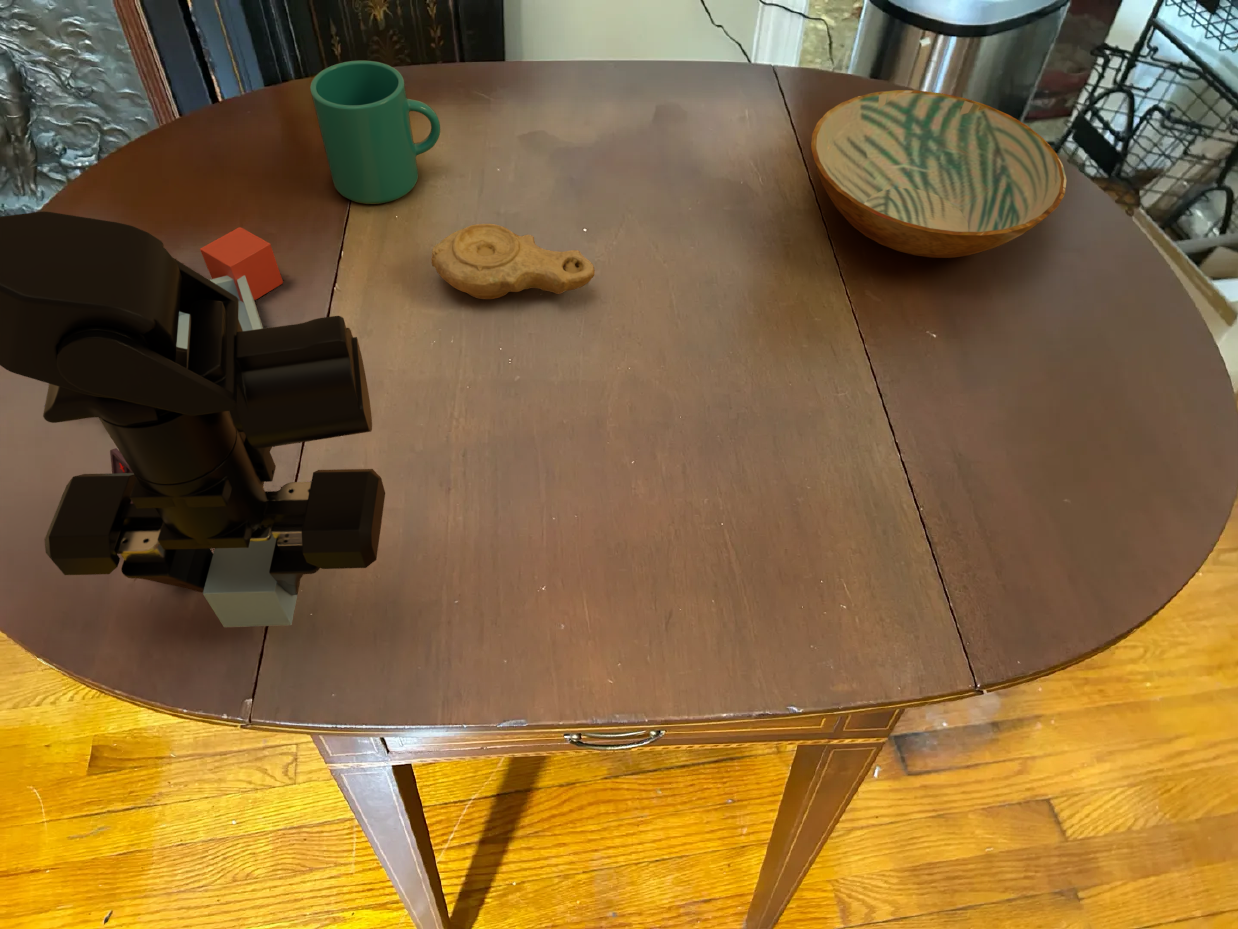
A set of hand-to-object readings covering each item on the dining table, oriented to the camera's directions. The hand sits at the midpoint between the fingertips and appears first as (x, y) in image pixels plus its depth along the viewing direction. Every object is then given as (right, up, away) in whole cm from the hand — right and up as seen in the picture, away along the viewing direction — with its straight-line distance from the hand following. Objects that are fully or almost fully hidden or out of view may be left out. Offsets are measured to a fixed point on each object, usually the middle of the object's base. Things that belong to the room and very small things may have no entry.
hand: (260, 589), depth 62 cm
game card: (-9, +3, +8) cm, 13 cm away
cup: (0, +39, +37) cm, 54 cm away
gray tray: (-14, +18, +19) cm, 30 cm away
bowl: (+56, +34, +35) cm, 74 cm away
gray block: (0, -1, +1) cm, 1 cm away
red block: (-11, +26, +25) cm, 38 cm away
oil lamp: (+14, +26, +27) cm, 40 cm away
